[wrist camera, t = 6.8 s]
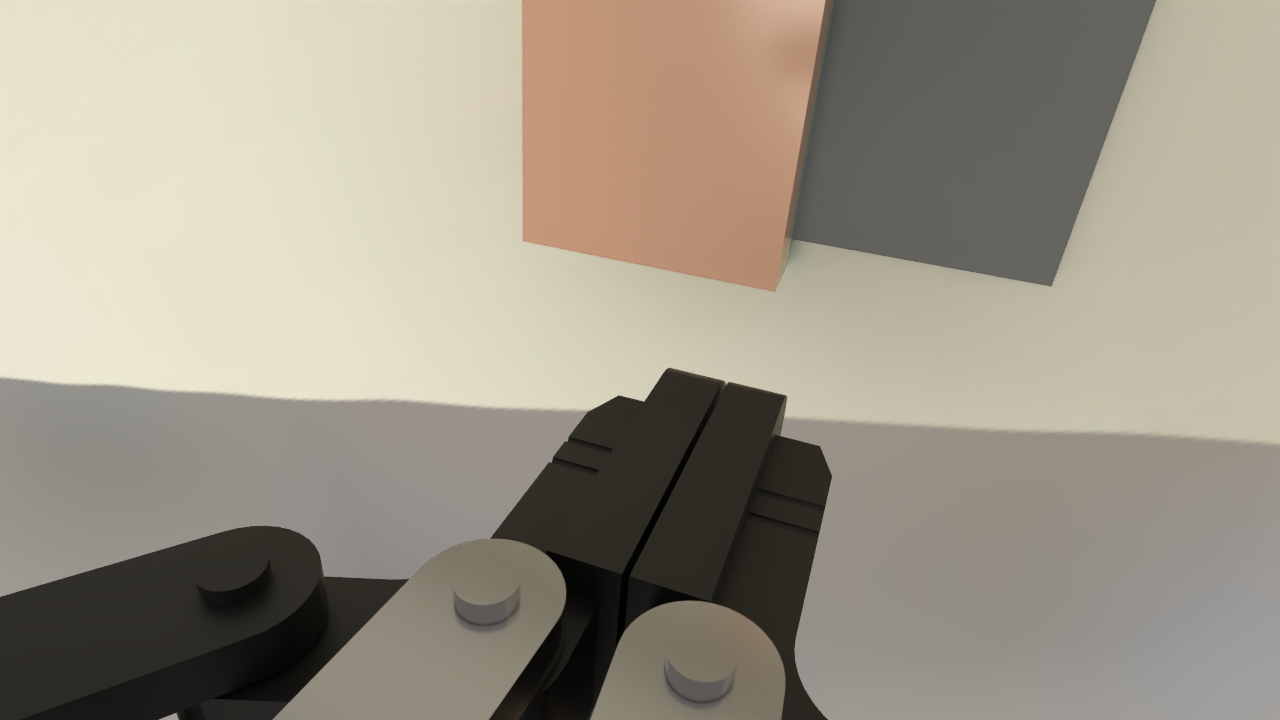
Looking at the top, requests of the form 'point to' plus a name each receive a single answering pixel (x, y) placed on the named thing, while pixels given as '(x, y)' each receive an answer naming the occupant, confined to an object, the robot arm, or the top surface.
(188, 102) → the top surface
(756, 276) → the tile
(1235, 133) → the top surface
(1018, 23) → the mat
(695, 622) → the robot arm
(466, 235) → the top surface
